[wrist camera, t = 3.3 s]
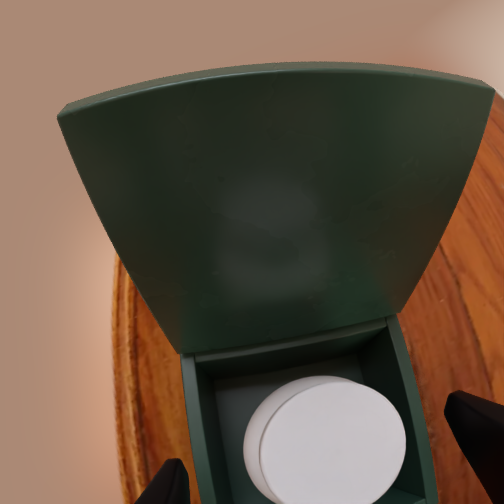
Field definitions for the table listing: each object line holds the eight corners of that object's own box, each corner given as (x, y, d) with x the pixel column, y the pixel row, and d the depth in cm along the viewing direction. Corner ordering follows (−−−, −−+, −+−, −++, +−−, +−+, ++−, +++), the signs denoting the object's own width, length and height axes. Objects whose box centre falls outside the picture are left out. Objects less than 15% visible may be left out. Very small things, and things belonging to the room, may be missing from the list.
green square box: (391, 486, 13) (439, 503, 8) (228, 523, 12) (214, 561, 7) (360, 343, 17) (395, 310, 13) (203, 372, 17) (179, 350, 12)
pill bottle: (356, 397, 15) (437, 364, 8) (340, 487, 13) (411, 532, 5) (259, 385, 16) (257, 345, 8) (240, 476, 13) (218, 525, 6)
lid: (496, 90, 5) (481, 79, 5) (54, 116, 4) (65, 103, 5) (400, 312, 12) (395, 301, 12) (177, 354, 12) (176, 341, 12)
